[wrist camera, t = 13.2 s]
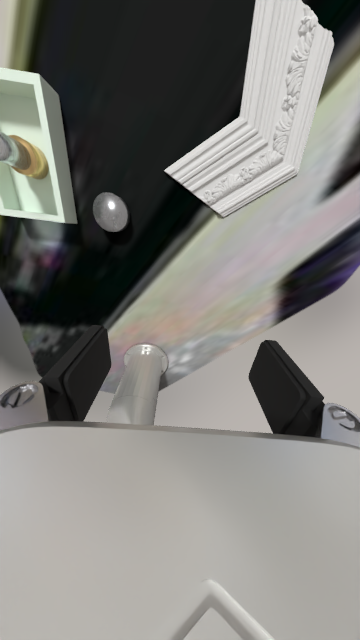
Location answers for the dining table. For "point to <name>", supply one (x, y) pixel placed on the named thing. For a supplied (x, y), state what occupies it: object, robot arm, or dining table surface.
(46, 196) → the bin
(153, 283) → the dining table surface
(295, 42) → the crown molding
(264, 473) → the robot arm
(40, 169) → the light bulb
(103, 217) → the silver metal dome
